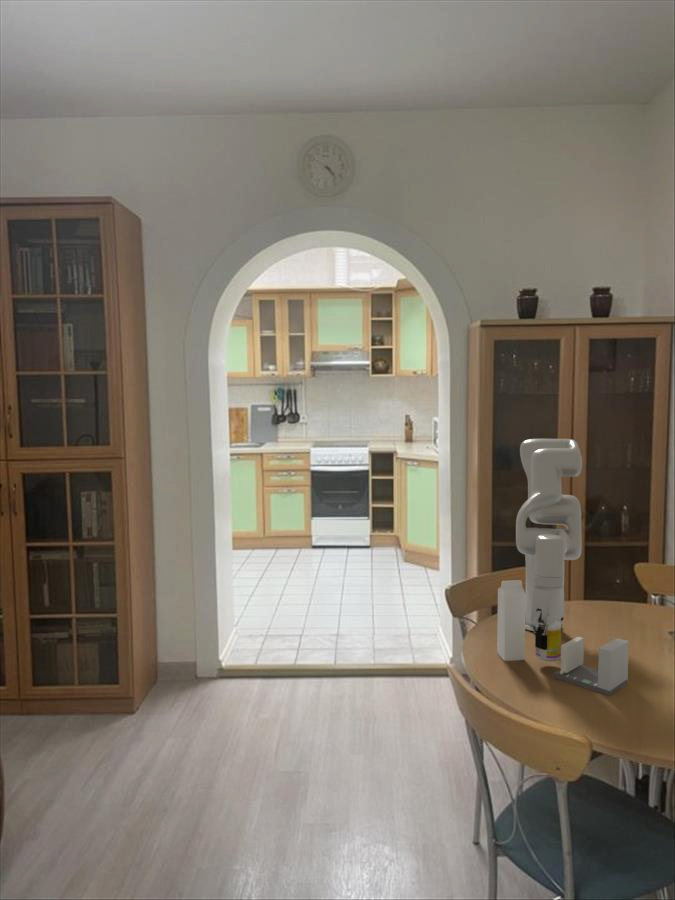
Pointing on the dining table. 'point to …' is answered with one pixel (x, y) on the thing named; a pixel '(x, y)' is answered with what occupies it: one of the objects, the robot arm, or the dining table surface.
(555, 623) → the supplement bottle
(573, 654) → the cream flat slab
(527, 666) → the dining table surface
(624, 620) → the dining table surface
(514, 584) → the milk
